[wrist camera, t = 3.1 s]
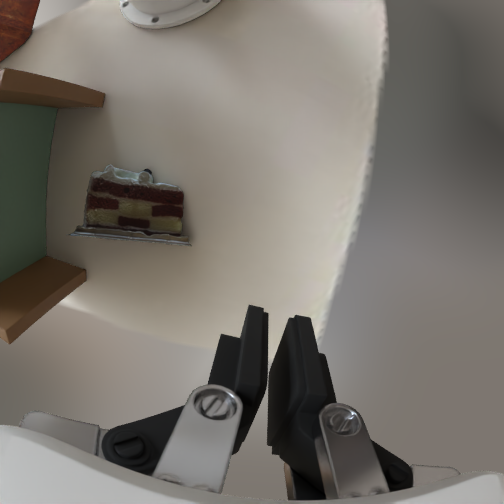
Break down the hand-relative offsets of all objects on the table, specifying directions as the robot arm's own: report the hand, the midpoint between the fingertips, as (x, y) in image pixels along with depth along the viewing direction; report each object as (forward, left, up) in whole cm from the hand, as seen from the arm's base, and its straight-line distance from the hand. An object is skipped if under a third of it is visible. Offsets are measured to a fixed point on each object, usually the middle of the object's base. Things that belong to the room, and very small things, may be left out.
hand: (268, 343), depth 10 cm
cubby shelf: (0, -24, -17) cm, 29 cm away
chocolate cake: (0, -13, -17) cm, 22 cm away
